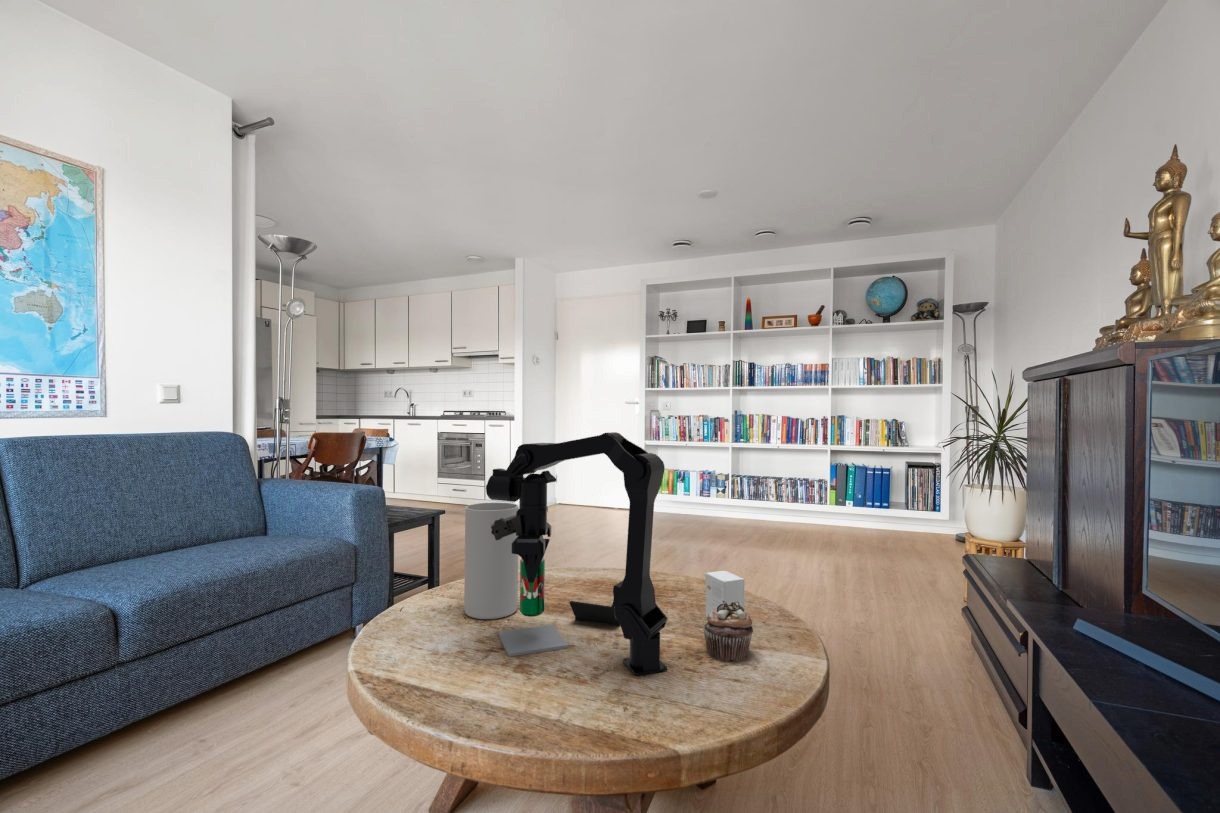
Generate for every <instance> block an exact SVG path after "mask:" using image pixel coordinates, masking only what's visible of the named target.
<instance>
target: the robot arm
mask: <svg viewBox="0 0 1220 813" xmlns="http://www.w3.org/2000/svg"><path fill="white" fill-rule="evenodd" d="M598 455H606V456H607V458H608V459H609V460H610V462H611V463H612V464H613V465H614V467H615V468H616V469H618V470H619V471H620V472H621V473H622V474H623V486H624V490H625V492H626V494H627V497H628V500H629V509H628V510H629V511H628V522H627V523H628V525H627V526H628V527H627V538H626V542H627V543H626V555H625V556H626V557H625V573H624V577H623V580H622V581H620V582H618V583H616V584H615V585H613V588H612V592H613V593H612V595H613V600H612V604H611V608H614V607H615V608H614V614H615V618H616V619H617V620H618V621H619V623H620V628H621V631H622V634H623V638H624V639H625V640H629V657H626V658H622V663H624V665H625V666H626V667H627V668H628V669H629V670H630V671H631V672H632V674H634V675H635V676H641V675H647V674H648V675H649V674H652V673H658V672H659V673H660V672H665V671H667V670H668V666H667V665H666V664H665V663H663V662H662V660H661V631H662V630H663V629H665V628H666V624H667V622H668V617H667V615H666V614H665V613H664V612H663V610H661V608H660V607H659V605H658V604H657V603H656V591H655V587H654V584H653V582H652V579H651V576H650V575H651V574H650V573H651V558H652V541H653V527H654V524H653V523H654V513H655V512H654V509H655V508H654V507H655V501H656V499H657V496H658V494H659V491H660V489H661V487H662V482H663V478H664V474H665V469H666V468H665V463H664V461H663V460H662V459H661V457H660V456H658V454H656V453H653V452H648V451H646V450H645V449H644V448H642V447H640V446H639V445H637V444H635V443H633V442H632V441H630V440H628V439H627V438H625V437H624V436H623V435H622V434H621V433H619V432H617V431H616V432H614V431H613V432H604V433H602V434H598V435H594V436H589V437H584V438H579V439H573V440H567V441H562V442H536V443H534V442H533V443H532V442H531V443H522V444H520V445H519V446H517V450H516V451H515V455H514V457H513V459H512V460H511V461H510V463H509V465H508V467H507V468H506V469H505V468H493V469H492V474H491V476H490V477H489V478H488V480H487V483H486V485H485V492H486V496H487V497H488V499H490V500H492V501H502V502H510V503H511V502H514V503H515V502H518V506H519V509H518V511H517V512H516V515H514V516H511V517H508V518H505V519H504V518H501V519H499V520H495V521H494V523H493V524H492V525H491V529H492V531H491V533H492V534H493V535H494V537H495V540H500V539H502V537H505V536H508V535H511V534H513V533H515V532H516V536H518V537H517V538H516V539H515V540H514V541H513V543H512V554H518V557H520V558H521V559H523V562H524V566H525V570H526V574H527V579H528V582H529V583H533V582H534V580H535V578H536V575H537V572H538V569H539V567H540V564H541V561H542V559H543V558H544V556H545V553H546V551H547V549H548V545H549V543H550V538H551V536H552V525H551V524H550V523H549V522H548V511H549V506H548V484H549V483H550V484H551V483H555V482H557V477H555V476H553V474H552V473H551V472H550V471H549V470H547V469H548V468H551V467H554V466H556V465H558V464H559V463H561V462H564V461H568V460H574V459H580V458H585V457H590V456H591V457H592V456H598ZM542 470H543V471H542ZM537 471H541V473H536V472H537ZM524 475H527V476H524ZM518 500H519V501H518ZM544 536H547V538H544Z"/></svg>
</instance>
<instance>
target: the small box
mask: <svg viewBox="0 0 1220 813" xmlns="http://www.w3.org/2000/svg"><path fill="white" fill-rule="evenodd" d="M704 575H705V580H704V581H705V618H706V617H708V614H710V613H711V612H713V611H714V610H715V609H716V607H717V606H718V605H720V604H721V603H722V601H725V602H726V603H727V604H728V605H730V604H731V603H732V602H737V601H739V603H740V604H741V605H742V607H743V608H744V612H745V613H746V611H745V609H746V608H745V606H746V605H745V602H746V601H745V598H746V597H745V579H744V578H742V577H740V576H738V575H736V574H733V573H731V572H730V571H727V570H720V571H719V570H718V571H712V572H711V571H710V572H708V571H707V572H705V574H704Z"/></svg>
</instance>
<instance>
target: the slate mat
mask: <svg viewBox="0 0 1220 813" xmlns="http://www.w3.org/2000/svg"><path fill="white" fill-rule="evenodd" d="M497 635H498V637H499V639H500V641H501V643H502V646H503V648H504V650H505V652H506V654H507V656H508V658H510V657H516V656H517V657H518V656H523V655H530V654H536V653H537V654H538V653H544V652H550V651H551V652H552V651H557V650H565V649H569V644H568V643H567V642H566V641H565V639H564V637H562V635H561V634H560V632H559V631H558V629H556V627H555V626H554V625H553V624H547V625H538V626H531V627H523V628H515V629H507V630H500V631H497Z"/></svg>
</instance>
